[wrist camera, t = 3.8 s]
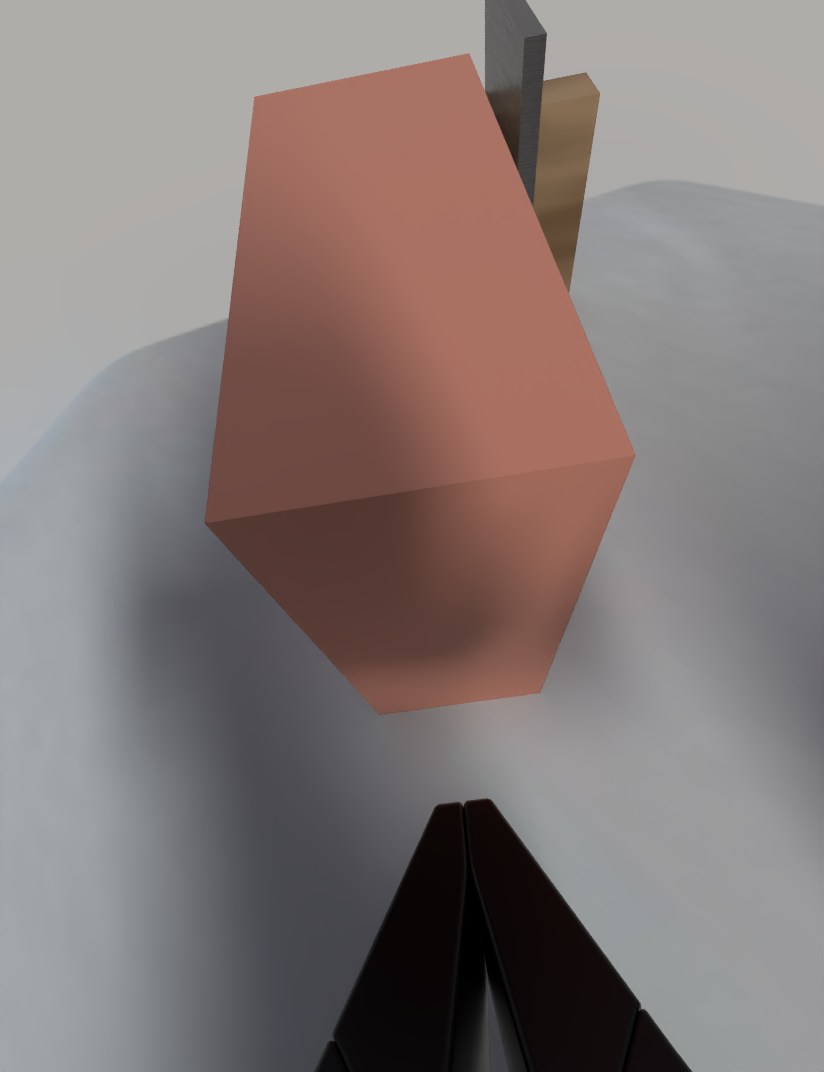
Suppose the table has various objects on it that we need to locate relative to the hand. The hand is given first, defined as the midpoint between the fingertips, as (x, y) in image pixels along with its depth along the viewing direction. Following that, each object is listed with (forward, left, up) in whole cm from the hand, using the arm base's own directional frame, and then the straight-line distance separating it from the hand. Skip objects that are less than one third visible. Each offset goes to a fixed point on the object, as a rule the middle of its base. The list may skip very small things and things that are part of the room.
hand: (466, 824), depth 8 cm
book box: (+7, +8, -11) cm, 16 cm away
